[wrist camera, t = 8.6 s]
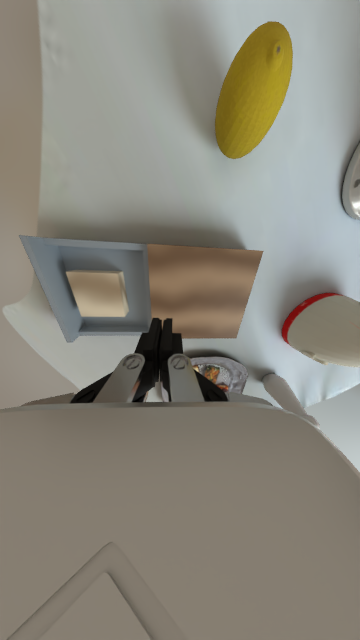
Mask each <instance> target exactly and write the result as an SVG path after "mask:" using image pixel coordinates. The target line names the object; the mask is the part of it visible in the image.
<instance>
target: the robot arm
mask: <svg viewBox="0 0 360 640" xmlns="http://www.w3.org/2000/svg"><path fill="white" fill-rule="evenodd" d="M342 198H343V205H344V208H345V210H346V212H347V213H348V214H349V215H350V216H351V217H352V218H354V219H357V220H360V143H359V145H358V147H357V148H356V150H355V152H354V155H353V157H352V159H351V161H350V163H349V166H348V169H347V172H346V175H345V179H344V184H343V194H342ZM172 322H173V318H166V320H164V321H163V328H162V320H160V318H153V319H152V322H151V325H150V328H149V331H148V332H143V333H142V334H141V337H140V339H139V342H138V345H137V347H136V350H135V353H133V354H129V355H127V356H125V357H124V358H123V359H122V360H121V361H120V363H119V364H118V366H117V367H116V369H115V370H114V371H113V372H112V373H110V374H108V375H107V376H105V377H103V378H101V379H100V380H98V381H96V382H94V383H93V384H91V385H89V386H88V387H86V388H84V389H82V390H81V391H80V392H78V393H77V394H74V393H69V394H65V395H60V396H55V397H50V398H46V399H40V400H36V401H31V402H28V403H25V404H24V405H22V406H19V407H12V408H5V409H0V640H360V472H359V471H358V470H357V469H356V468H355V467H354V466H353V464H352V463H351V462H350V461H349V460H348V459H347V458H346V456H345V455H344V454H343V453H342V452H341V451H340V450H339V449H338V448H337V447H336V445H335V444H334V443H333V442H332V441H331V440H330V439H329V438H328V437H327V436H326V435H325V434H324V433H323V432H322V431H321V430H319V429H318V428H317V427H316V426H315V425H313V424H312V423H310V422H309V421H307V420H306V419H304V418H302V417H300V416H298V415H296V414H294V413H292V412H289V411H287V410H284V409H281V408H278V407H275V406H273V405H272V404H271V403H269V402H268V401H266V400H264V399H262V398H257V397H253V396H248V395H243V394H239V393H234V392H230V391H229V392H228V393H226V392H224V391H223V390H222V389H221V388H219V387H218V386H217V385H215V384H214V383H213V382H211V381H210V380H208V379H207V378H206V377H204V376H203V375H202V374H200V373H199V372H197V371H196V370H195V369H193V366H192V363H191V361H190V359H189V358H188V357H187V356H186V355H184V354H183V347H182V335H181V333H172ZM159 371H160V382H162V387H163V388H164V389H165V390H166V391H167V392H168V402H146V399H147V396H148V391H149V390H150V389H151V388H152V387H155V382H158V379H159Z"/></svg>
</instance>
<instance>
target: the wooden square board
mask: <svg viewBox="0 0 360 640" xmlns="http://www.w3.org/2000/svg"><path fill="white" fill-rule="evenodd" d="M147 250H148V266H149V283H150V300H151V316H152V319H153V318H160V320H162V328H163V321H164V320H166V318H173V322H172V333H181V335H182V338H236V337H237V334H238V331H239V327H240V324H241V321H242V318H243V315H244V311H245V308H246V305H247V302H248V299H249V295H250V292H251V289H252V286H253V283H254V279H255V276H256V273H257V270H258V267H259V263H260V260H261V257H262V254H263V251H256V250H240V249H224V248H208V247H192V246H176V245H160V244H147Z"/></svg>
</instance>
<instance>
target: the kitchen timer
mask: <svg viewBox="0 0 360 640" xmlns="http://www.w3.org/2000/svg"><path fill="white" fill-rule="evenodd" d="M282 337H283V339H284V341H285V342H287V343H288V344H289V345H290V346H292V347H293V348H294V349H296V350H298V351H299V352H301V353H302V354H304V355H306V356H308V357H309V358H311V359H313V360H315V361H317V362H319V363H321V364H324V365H328V362H329V363H332V364H337V365H342V366H348V367H360V302H358V301H356V300H353V299H351V298H349V297H346V296H343V295H339V294H335V293H324V294H319V295H316V296H314V297H311V298H309V299H307V300H305V301H304V302H303V303H301V304H300V305H298V306H297V307H296V308H295V309H294V310H293V311H292V312H291V313H290V314H289V316H288V317H287V319H286V320H285V322H284V325H283V328H282Z"/></svg>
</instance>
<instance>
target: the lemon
mask: <svg viewBox="0 0 360 640" xmlns="http://www.w3.org/2000/svg"><path fill="white" fill-rule="evenodd" d="M292 58H293V51H292V42H291V39H290V36H289V33H288V31H287V30H286V28H285V27H284V26H283V25H282V24H280V23H279V22H267V23H265V24H263V25H261V26H259V27H258V28H257V29H256V30H255V31H254V32H253V33H252V34H250V36H249V37H248V38H247V39H246V41H245V42H244V44H243V45H242V47H241V48H240V50H239V51H238V53H237V54H236V56H235V58H234V60H233V62H232V64H231V66H230V68H229V71H228V73H227V75H226V78H225V80H224V83H223V85H222V89H221V92H220V96H219V100H218V104H217V110H216V119H215V131H216V139H217V143H218V146H219V148H220V150H221V152H222V153H223V154H224V155H225V156H227V157H228V158H232V159H236V158H241V157H243V156H245V155H246V154H248V153H250V152H251V151H252V150H253V149H254V148H255V147H256V146H257V145H258V144H259V143H260V142H261V141H262V139H263V138H264V136H265V135H266V133H267V132H268V130H269V129H270V127H271V126H272V124H273V122H274V120H275V118H276V116H277V114H278V112H279V110H280V108H281V106H282V104H283V101H284V98H285V95H286V92H287V89H288V86H289V82H290V77H291V71H292Z"/></svg>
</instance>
